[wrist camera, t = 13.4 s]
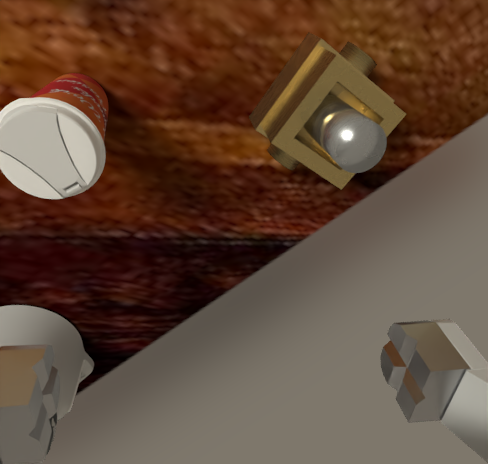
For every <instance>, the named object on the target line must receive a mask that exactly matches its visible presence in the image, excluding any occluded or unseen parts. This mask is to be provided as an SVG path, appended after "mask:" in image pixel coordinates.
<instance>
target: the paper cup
mask: <svg viewBox="0 0 488 464" xmlns="http://www.w3.org/2000/svg"><path fill="white" fill-rule="evenodd" d="M108 110H109V106H108V99H107V96H106V93H105V92H104V90H103V88H102V87H101V86H100V85H99V84H98V83H97V82H96V81H95V80H93V79H92V78H90V77H88V76H86V75H83V74H77V73H71V74H66V75H63V76H61V77H59V78H57V79H55V80H54V81H52V82H51V83H49V84H48V85H47V86H45V87H44V88H42V89H41V90H40V91H38V92H37V93H36V94H34V95H33V96H32V97H30V98H20V99H18V100H15V101H13V102H11V103H10V104H8V105H7V106H6V107H4V108H3V110H2V111H1V112H0V169H1V170H2V172H3V173H4V175H5V176H6V177H7V178H8V179H9V180H10V181H11V182H12V183H13V184H14V185H15V186H17V187H18V188H19V189H21V190H23V191H25V192H26V193H29V194H31V195H33V196H37V197H40V198H46V199H62V198H65V197H69V196H73V195H77V194H79V193H82V192H84V191H85V190H87V189H88V188H90V187H91V186H92V185H93V184H94V183H95V182H96V181H97V180H98V178H99V177H100V175H101V173H102V171H103V168H104V165H105V158H106V154H105V146H104V139H105V132H106V126H107V119H108Z"/></svg>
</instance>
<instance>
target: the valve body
mask: <svg viewBox="0 0 488 464" xmlns="http://www.w3.org/2000/svg"><path fill="white" fill-rule="evenodd" d="M376 65H377V64H376V63H375V61H374V60H373V59H372V58H370V57H369V56H368V55H367V54H366V53H365V52H363V51H362V50H361V49H359V48H358V47H357V46H355V45H354V44H352V43H350V42H347V44H346V45H345V46H344V48H343V49H342V50H341V52H340V53H338V52H337V51H335V50H334V49H333V48H332V47H331V46H330V45H328V44H327V43H326V42H325V41H324V40H323V39H321V38H319V37H317V36H315V35H313V34H311V33H308V34H307V36H306V37H305V38H304V40H303V41H302V43H301V44H300V45H299V47H298V48H297V50H296V51H295V53H294V54H293V55H292V57H291V58H290V60H289V61H288V62H287V64H286V65H285V67H284V68H283V70H282V71H281V72H280V74H279V75H278V77H277V78H276V79H275V81H274V82H273V84H272V85H271V87H270V88H269V89H268V91H267V92H266V94H265V95H264V96H263V98H262V99H261V101H260V102H259V104H258V105H257V106H256V108H255V109H254V111H253V112H252V113H251V115H250V116H249V118H250V120H251V122H252V124H253V126H254V128H255V130H257V131H258V132H260V133H261V134H263V135H264V136H266V137H267V138H269V140H270V142H271V143H272V144H271V145H270V146H269V148H268V149H267V151H268V152H269V154H270V155H271V156H272V157H273V158H274V159H276V160H277V161H278V162H279V163H281V164H282V165H283V166H285V167H287V168H288V169H291V170H294V169H295V168H296V166H297V165H298V164H299V163H300V162H301V163H302V164H304V165H305V166H307V167H308V168H310V169H311V170H313V171H314V172H316V173H317V174H319V175H320V176H322V177H323V178H325V179H326V180H328V181H329V182H331V183H332V184H334V185H335V186H337V187H338V188H340V189H341V190H342V188H343V187H344V186H345V185H346V184H347V183H348V182H349V180H350V179H351V178H352V177H353V176H354V175H355V173H351V172H347V171H345V170H343V169H342V168H341V167H340V166H339V165H338V164H337V163H336V162H335V161H334V160H333V159H332V158H331V157H330V156H329V155H328V153H327V152H326V151H325V150H324V149H323V148H322V147H321V146H320V145H319V144H318V143H317V142H316V141H315V140H314V139H313V138H312V137H311V136H310V134H309V133H308V132H307V131H306V129H305V127H304V124H305V123H306V122H307V120H308V119H309V118H310V116H311V115H312V114H313V112H314V111H315V110H316V108H317V107H318V106H319V105H320V103H321V102H322V101H323V99H324V98H325V97H326V95H327V94H329V95H334V96H337V97H338V98H340V99H341V100H343V101H344V102H346V103H347V104H349V105H350V106H352V107H353V108H355V109H356V110H358V111H359V112H361V113H362V114H364V115H365V116H367V117H368V118H370V119H371V120H372V121H374V122H375V123H377V124H378V125H380V126H381V127H382V129H383V130H384V132H385V134H386V137H387V136H388V135H389V134H390V133H391V132H392V130H393V129H394V128H395V127H396V126H397V125H398V123H399V122H400V121H401V120H402V119H403V118H404V116H405V115H406V113H404V112H403V111H402V110H401V109H400V108H398V107H397V106H396V105H395V104H394V103H393V102H394V100H393V99H392V98H391V97H389V96H388V95H387V94H386V93H385V92H384V91H382V90H381V89H380V88H379V87H378V86H376V85H375V84H374V83H373V82H372V81H371V80H369V79H368V78H367V77H368V75H369V74H370V73H371V72H372V70H373V69H374V68H375V67H376Z"/></svg>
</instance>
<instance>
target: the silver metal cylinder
mask: <svg viewBox="0 0 488 464" xmlns="http://www.w3.org/2000/svg"><path fill="white" fill-rule="evenodd" d="M304 127H305V129H306V131H307V132H308V133H309V134H310V136H311V137H312V138H313V139H314V140H315V141H316V142H317V143H318V144H319V145H320V146H321V147H322V148H323V149H324V150H325V151H326V152H327V153H328V155H329V156H330V157H331V158H332V159H333V160H334V161H335V162H336V163H337V164H338V165H339V166H340V167H341V168H342V169H343V170H345V171H347V172H351V173H361V172H364V171H367V170H369V169H371V168H372V167H374V166H375V165H376V164H377V163H378V162H379V161H380V159H381V158H382V156H383V155H384V152H385V150H386V145H387V139H386V134H385V132H384V130H383V129H382V127H381V126H380V125H378V124H377V123H375V122H374V121H372V120H371V119H370V118H368V117H367V116H365V115H364V114H362V113H361V112H359V111H358V110H356V109H355V108H353V107H352V106H350V105H349V104H347V103H346V102H344V101H343V100H341V99H340V98H338V97H337V96H334V95H329V94H327V95H326V97H325V98H324V99H323V101H322V102H321V103H320V105H319V106H318V107H317V108H316V110H315V111H314V112H313V114H312V115H311V116H310V118H309V119H308V120H307V122H306V123H305V124H304Z"/></svg>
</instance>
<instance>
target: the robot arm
mask: <svg viewBox="0 0 488 464" xmlns="http://www.w3.org/2000/svg"><path fill="white" fill-rule="evenodd" d="M388 336H389V337H390V339H391V341H389V342H388V343H387V344H386V345H385V346H384V347H383V350H382V353H381V368H382V372H383V375H384V377H385V379H386V381H387V383H388V384H389V385H390V386H391V387H393V388H394V389H396V390H397V391H398V392H397V396H396V400H397V402H398V404H399V406H400V408H401V409H402V411H403V413H404V415H405V417H406V419H407V420H408V422H424V421H437V420H441V423H442V424H443V425H445V426H446V427H447V428H448V429H449V430H450V431H452V432H453V433H454V434H455V435H456V436H457V437H458V438H460V439H461V440H462V441H463V442H464V443H466V444H467V445H468V446H469V447H470V448H471V449H473V450H474V451H475V452H476V453H477V454H478V455H479V456H481V457H482V458H483V459H484V460H485V461H486V462H487V463H488V363H487V361H486V360H485V359H484V358H483V356H482V355H481V354H480V353H479V351H478V350H477V349H476V348H475V347H474V345H473V344H472V343H471V342H470V340H469V339H468V338H467V337H466V336H465V334H464V333H463V332H462V330H461V329H460V328H459V327H458V325H457V324H456V323H455V322H453V321H452V320H450V319H443V320H431V321H415V322H401V323H394V324H393V325H392V326H391V327H390V329H389V332H388ZM93 368H94V362H93V360H92V359H91V357H90V356H89V355H88V354H87V353H86V352H85V350H84V347H83V342H82V339H81V336H80V334H79V333H78V331H77V330H76V328H75V327H74V326H73V325H72V324H71V323H70V322H69V321H67V320H66V319H65V318H63V317H61V316H60V315H58V314H56V313H54V312H51V311H49V310H46V309H42V308H39V307H34V306H26V305H9V306H2V307H0V464H42V463H43V460H45V457H46V455H47V454H48V452H49V450H50V446H51V442H52V441H53V439H54V435H55V430H56V423H57V421H58V420H60V419H62V418H63V417H64V416H65V415H66V413H69V412H70V411H71V409H72V406H73V402H74V399H75V396H76V392H77V388H78V384H79V383H80V382H81V381H82V380H83V379H85V378H86V377H87V376H88V375H89V374H90V373H91V372H92V371H93Z"/></svg>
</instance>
